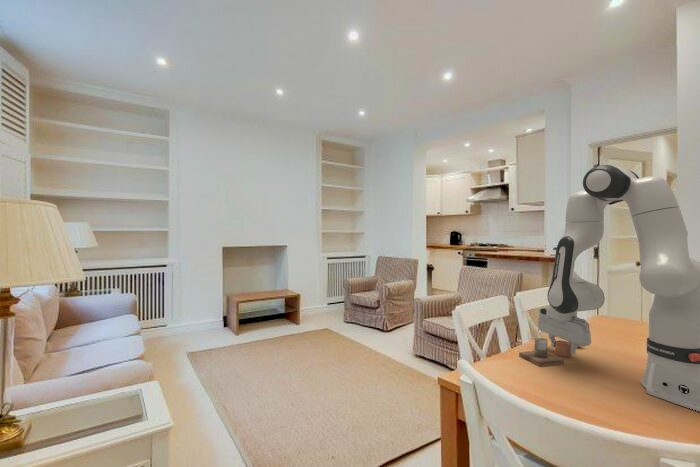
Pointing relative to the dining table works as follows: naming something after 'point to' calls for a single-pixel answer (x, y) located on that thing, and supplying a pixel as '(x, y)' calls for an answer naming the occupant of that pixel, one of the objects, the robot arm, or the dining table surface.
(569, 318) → the robot arm
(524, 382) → the dining table surface
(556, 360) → the stud base
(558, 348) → the cap
